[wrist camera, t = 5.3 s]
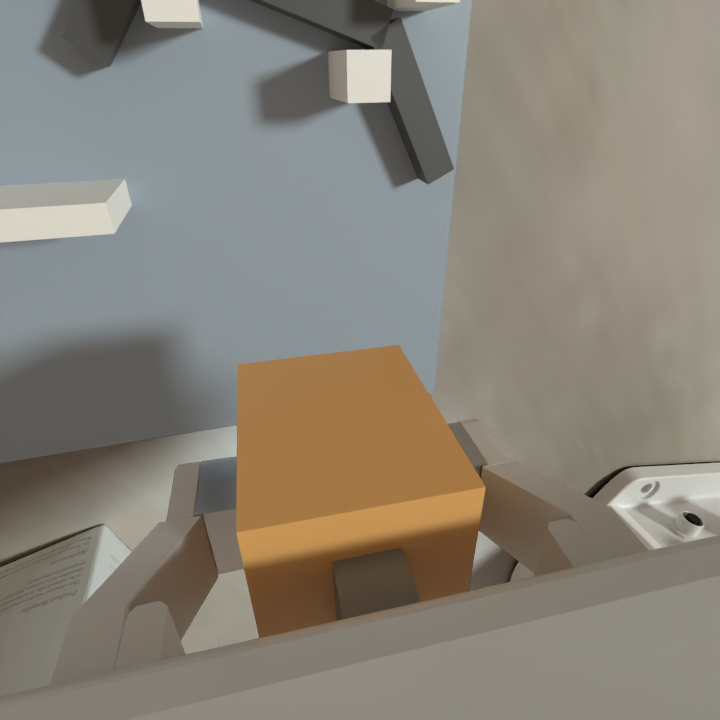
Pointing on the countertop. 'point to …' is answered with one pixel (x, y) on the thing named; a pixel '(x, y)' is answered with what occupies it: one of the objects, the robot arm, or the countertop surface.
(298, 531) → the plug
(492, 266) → the countertop surface
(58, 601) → the skincare box
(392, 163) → the board
